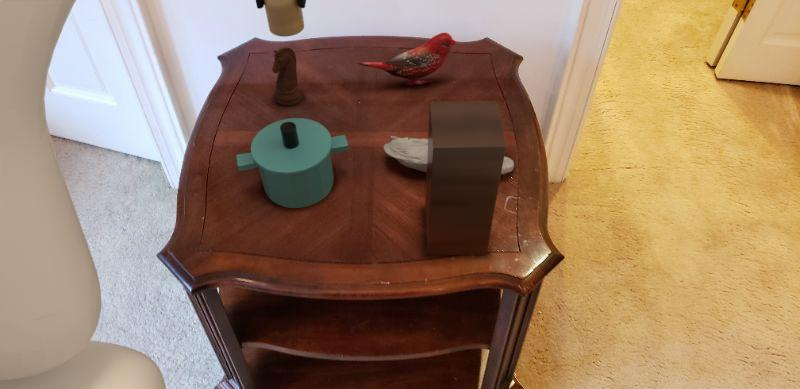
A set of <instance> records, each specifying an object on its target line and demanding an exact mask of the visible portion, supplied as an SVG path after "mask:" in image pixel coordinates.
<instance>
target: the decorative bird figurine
mask: <svg viewBox="0 0 800 389" xmlns="http://www.w3.org/2000/svg"><path fill="white" fill-rule="evenodd" d="M456 44H458V42H457V41H456V40H454V39H453V36H451V34H450V33H448V32H440V33H439V34H436V35H434V36H432V37H431V38H430V39H429V40H427V41H426V42H425V43H424V44H422V45H419V46H418V47H416V48H411V49H409V50H406V51H403V52H402V53H399V54H397V55H394V56H393V57H391V58H389V59H387V60H386V61H367V62H366V61H363V62H357V63H356V64H357V65H359V66H363V67H367V68H368V67H369V68H374V69H380V70H382V71H384V72H386V73H388V74H389V75H391V76H393V77H397V78H402V79H406V80H407V81H408V82H407V83H405V86H407V85H409V86H415V85H424V84H426V83H430V82H433V81H434V80H432V79H431V80H430V79H429V80H423V79H422V78H426V77H428V76H430V75H432V74H434V73H435V72H436V71H438V70H439V69H440V68H441V67H442V65H443V64H444V62H445V61H446V59H447V57H448V55H449V54H450V52H451V50H452V47H453V46H454V45H456ZM419 79H420V80H419ZM421 79H422V80H421Z"/></svg>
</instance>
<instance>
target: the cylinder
mask: <svg viewBox="0 0 800 389" xmlns="http://www.w3.org/2000/svg"><path fill="white" fill-rule="evenodd" d="M263 1H264V10H265V14H266V20H267V24H268V29H269V32H270V33H271V34H272V35H274V36H277V37H281V38H282V37H284V38H285V37H286V38H287V37H293V36H295V35H298V34H300V33H301V32H302V31H303V30H304V29H305V20H304V16H303V15H304V14H303V13H304V12H303V8H300V7H299V4H298V0H263Z"/></svg>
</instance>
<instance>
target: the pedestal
mask: <svg viewBox="0 0 800 389" xmlns="http://www.w3.org/2000/svg"><path fill="white" fill-rule="evenodd" d="M428 111H429V112H428V132H427V134H428V136H427V140H428V155H427V173H426V182H425V183H426V184H425V202H424V204H425V205H424V216H425V217H424V218H425V234H426V235H425V236H426V252H427V253H426V255H427V256H486V255H487V252H488V246H489V241H490V237H491V236H490V235H491V230H492V225H493V218H494V214H495V209H496V204H497V199H498V198H497V197H498V194H499V189H500V188H499V187H500V182H501V176H502V174H501V172H502V166H503V161H504V156H505V157H506V149H507V144H506V139H505V135H504V134H505V133H504V130H503V125H502V124H503V123H502V120H501V114H500V110H499V105H498V101H497V100H477V101H475V100H472V101H471V100H470V101H468V100H467V101H466V100H465V101H429V110H428Z"/></svg>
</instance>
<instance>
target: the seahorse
mask: <svg viewBox="0 0 800 389" xmlns="http://www.w3.org/2000/svg"><path fill="white" fill-rule="evenodd" d="M390 139H391V141H389V142H387V143H385V144H384V145H383V150H384V153H385V154H386V155H387V156H388V157H389V158H393V159H395V160H396V161H397V162H399V163H400V164H401V165H403V166H404V167H406V168H410V169H413V170H417V171H420V172H424V173H426V174H427V155H428V138H424V137H423V138H416V137H415V138H414V137H409V136H405V137H398V136H396V135H390ZM514 166H515V163H514V160H513V159H512V158H509V157H508V156H506V155H505V156H504V161H503V166H502V172H501V175H503V176H505V175H506V174H508V173H512V172H513V170H514Z"/></svg>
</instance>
